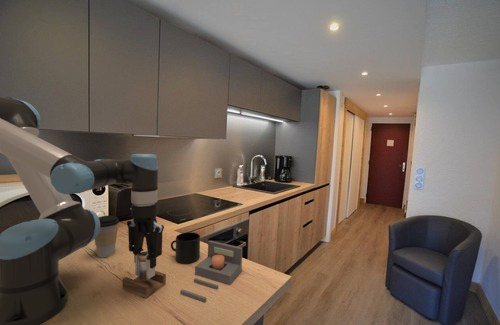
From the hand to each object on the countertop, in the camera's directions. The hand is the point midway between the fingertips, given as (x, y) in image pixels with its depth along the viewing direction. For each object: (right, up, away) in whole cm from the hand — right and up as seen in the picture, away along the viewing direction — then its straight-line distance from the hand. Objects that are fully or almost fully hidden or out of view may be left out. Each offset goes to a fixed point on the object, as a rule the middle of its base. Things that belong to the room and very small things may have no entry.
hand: (145, 274), depth 74 cm
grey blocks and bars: (+20, -4, +5) cm, 21 cm away
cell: (0, 0, 0) cm, 0 cm away
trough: (0, -4, 0) cm, 4 cm away
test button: (+22, -2, +9) cm, 24 cm away
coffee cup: (-25, -2, +21) cm, 33 cm away
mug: (+7, -3, +20) cm, 21 cm away
